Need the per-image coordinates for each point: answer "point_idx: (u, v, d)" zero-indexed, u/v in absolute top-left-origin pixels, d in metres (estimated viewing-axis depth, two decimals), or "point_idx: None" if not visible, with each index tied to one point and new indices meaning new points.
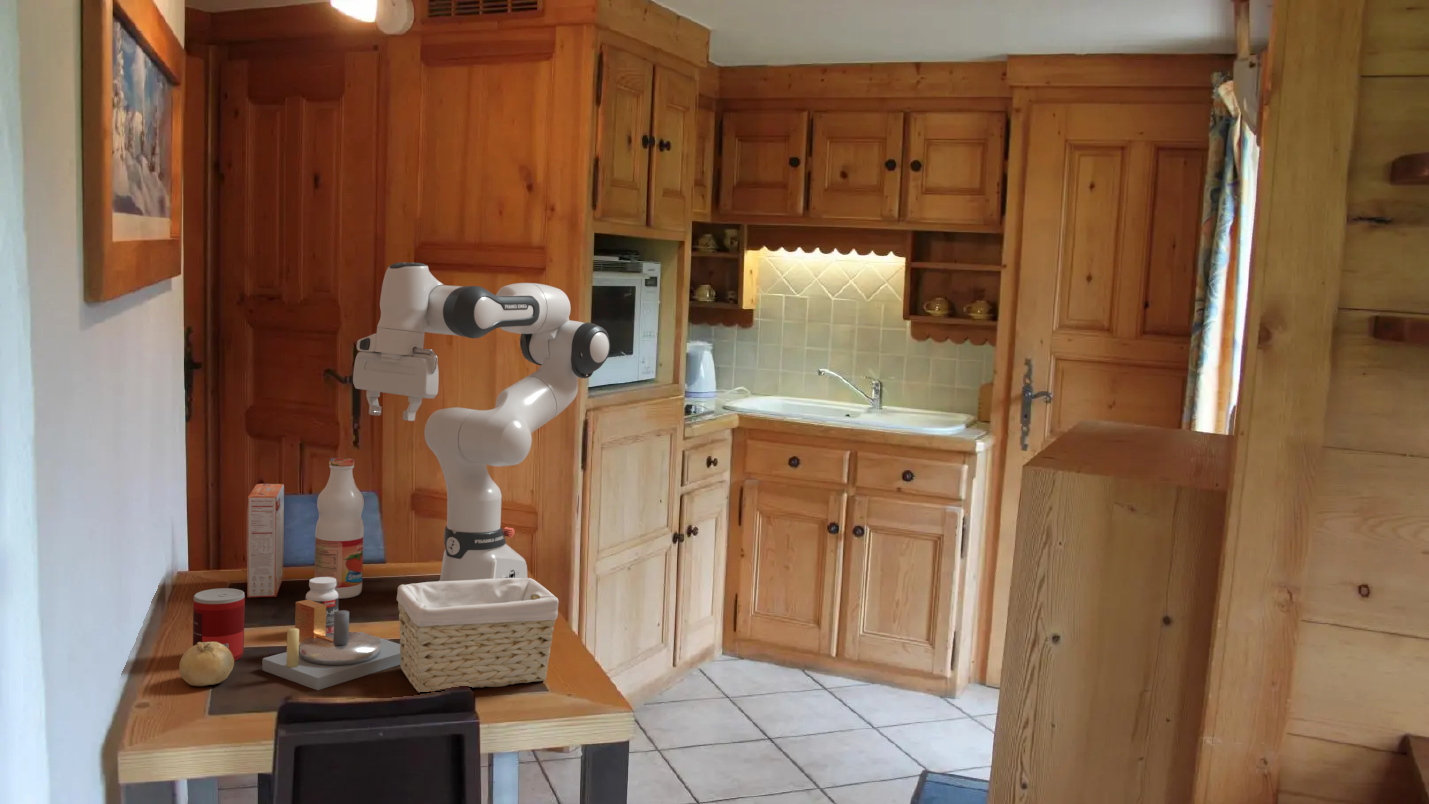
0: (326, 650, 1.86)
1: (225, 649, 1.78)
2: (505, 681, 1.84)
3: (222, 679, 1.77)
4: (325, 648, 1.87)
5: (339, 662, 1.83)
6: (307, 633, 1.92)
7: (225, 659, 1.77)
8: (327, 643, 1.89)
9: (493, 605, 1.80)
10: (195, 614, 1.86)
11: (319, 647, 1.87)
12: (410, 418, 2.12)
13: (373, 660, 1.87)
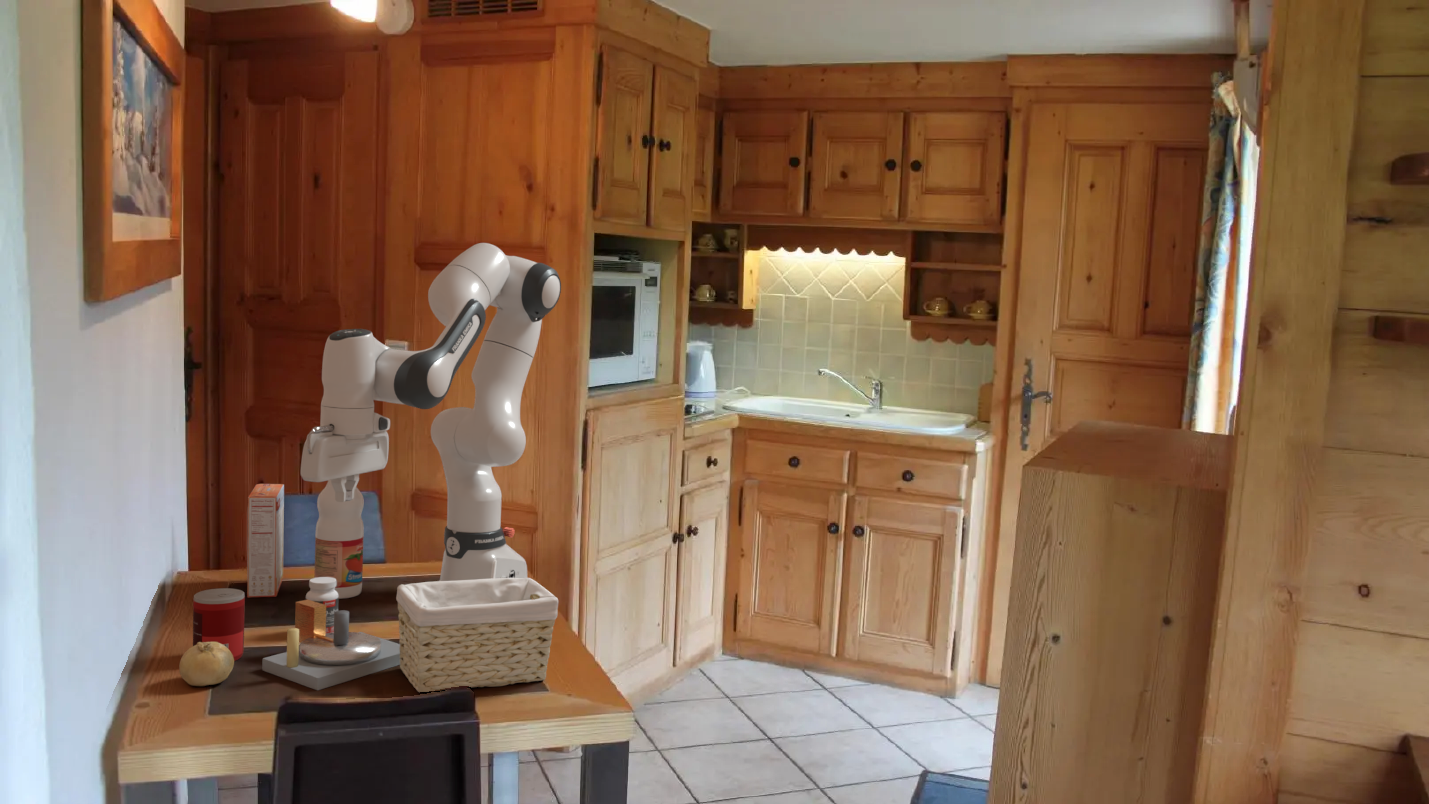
0: (326, 650, 1.86)
1: (225, 649, 1.78)
2: (505, 681, 1.84)
3: (222, 679, 1.77)
4: (325, 648, 1.87)
5: (339, 662, 1.83)
6: (307, 633, 1.92)
7: (225, 659, 1.77)
8: (327, 643, 1.89)
9: (493, 605, 1.81)
10: (195, 614, 1.86)
11: (319, 647, 1.87)
12: (338, 498, 1.96)
13: (373, 660, 1.87)
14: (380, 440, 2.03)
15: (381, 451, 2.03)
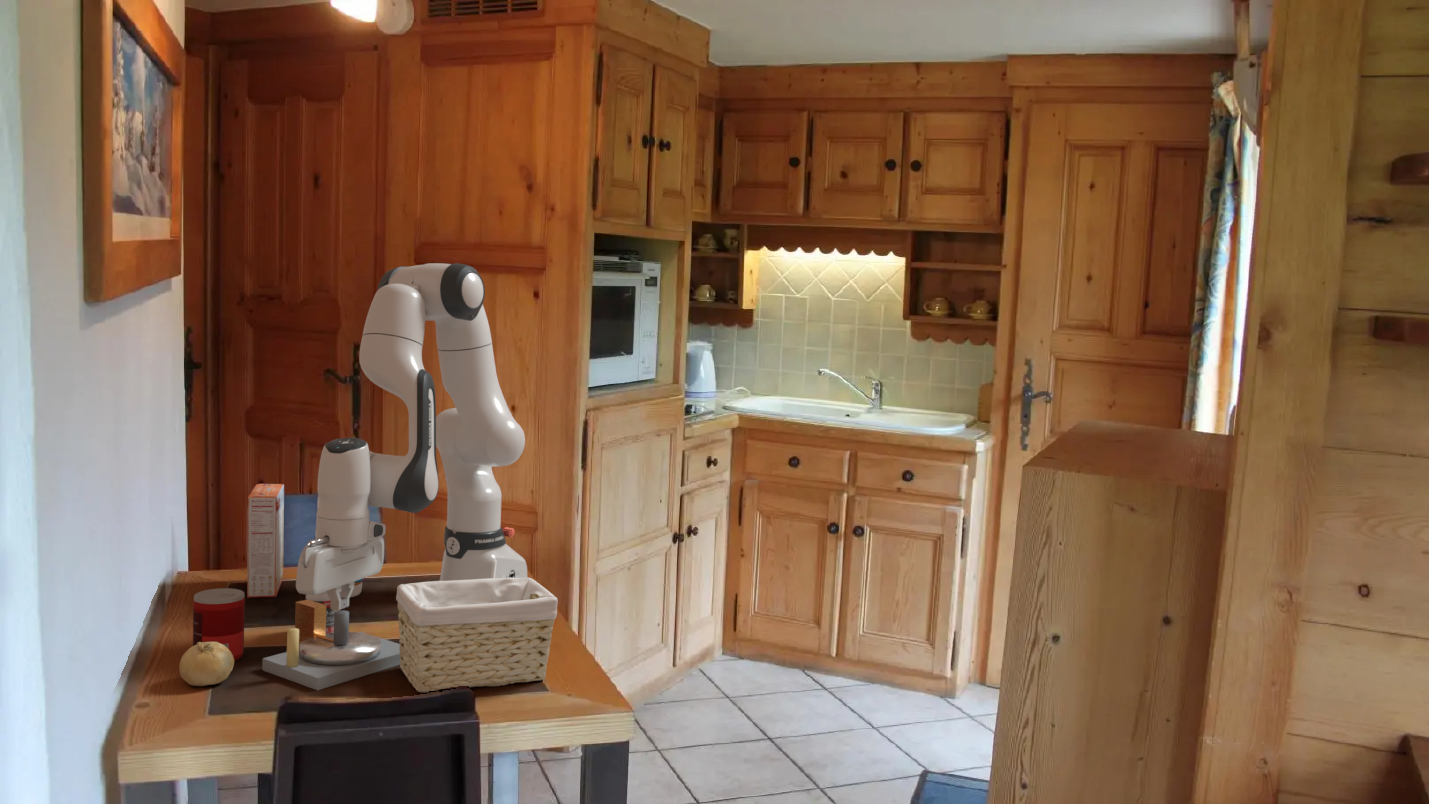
0: (326, 650, 1.86)
1: (225, 649, 1.78)
2: (504, 680, 1.84)
3: (222, 679, 1.77)
4: (325, 648, 1.87)
5: (339, 662, 1.83)
6: (307, 633, 1.92)
7: (225, 659, 1.77)
8: (327, 643, 1.89)
9: (492, 604, 1.81)
10: (195, 614, 1.86)
11: (319, 647, 1.87)
12: (333, 607, 1.97)
13: (373, 660, 1.87)
14: (375, 546, 2.04)
15: (376, 556, 2.05)
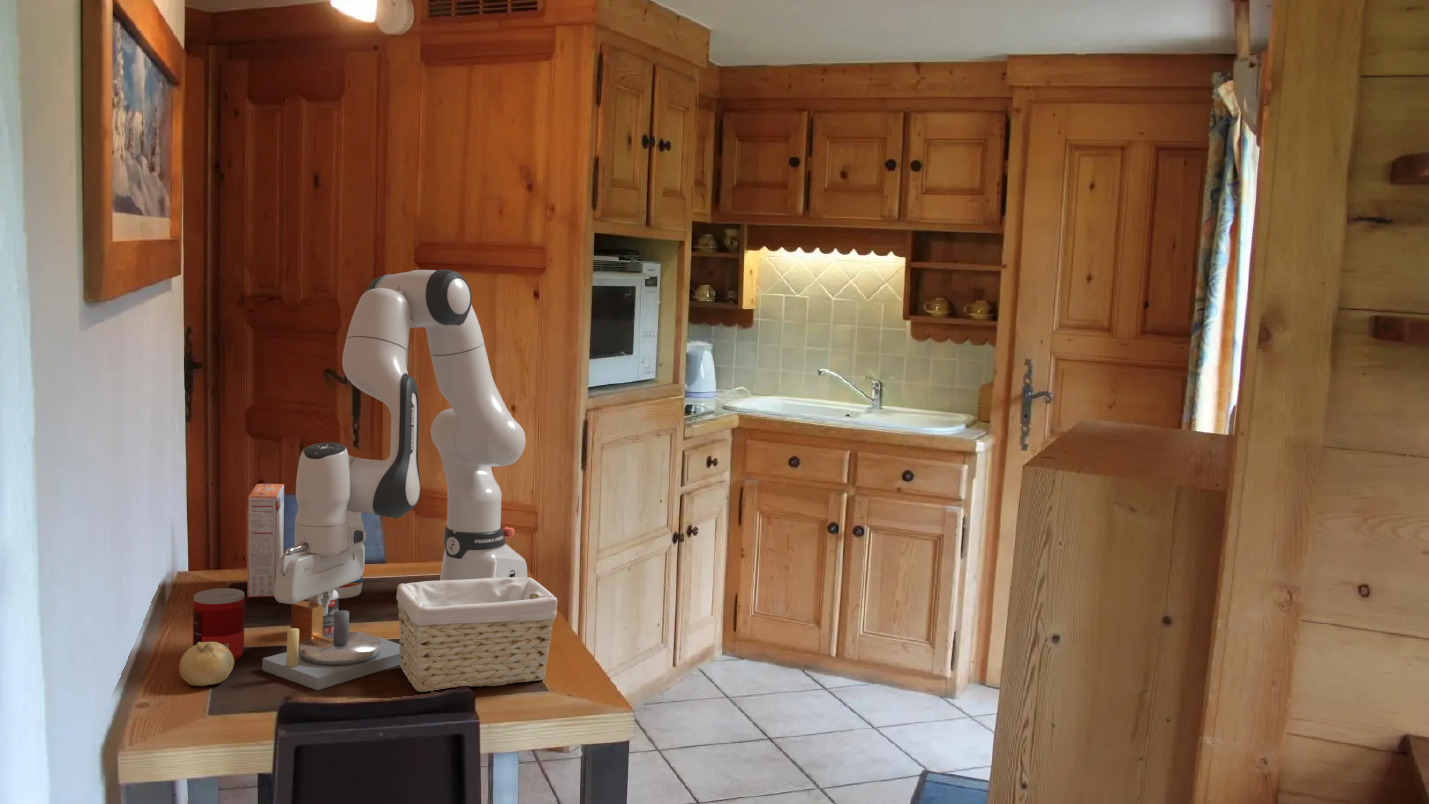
0: (327, 650, 1.86)
1: (225, 649, 1.78)
2: (504, 680, 1.84)
3: (222, 679, 1.77)
4: (327, 648, 1.87)
5: (343, 662, 1.84)
6: (305, 634, 1.92)
7: (225, 659, 1.77)
8: (327, 643, 1.89)
9: (492, 604, 1.81)
10: (195, 614, 1.86)
11: (320, 647, 1.87)
12: None
13: (373, 660, 1.87)
14: (356, 552, 2.01)
15: (357, 562, 2.02)
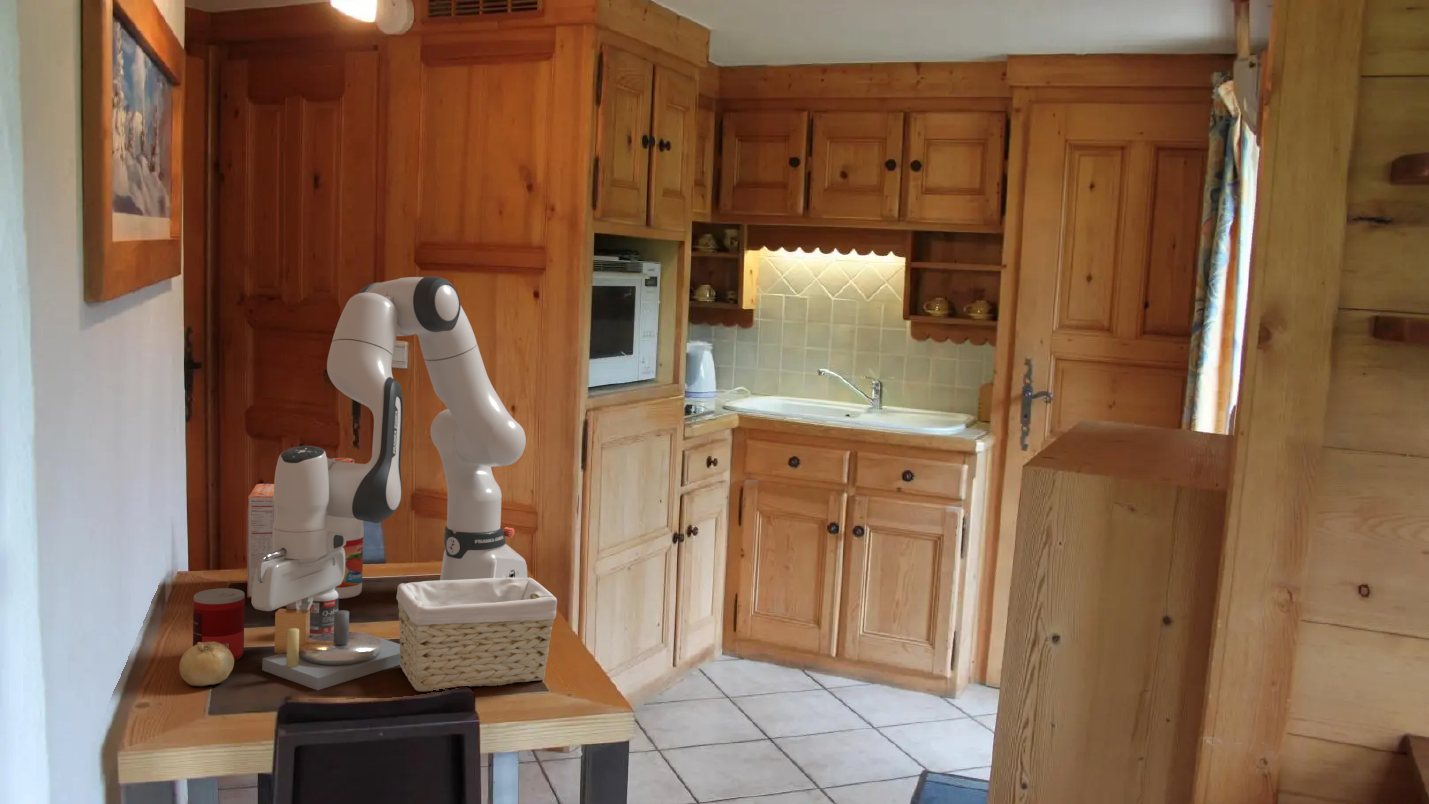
0: (341, 650, 1.86)
1: (225, 649, 1.78)
2: (503, 680, 1.84)
3: (222, 679, 1.77)
4: (336, 649, 1.86)
5: (364, 658, 1.86)
6: None
7: (225, 659, 1.77)
8: (328, 645, 1.88)
9: (491, 604, 1.81)
10: (195, 614, 1.86)
11: (330, 650, 1.86)
12: None
13: (373, 660, 1.87)
14: (336, 557, 1.97)
15: (337, 567, 1.98)
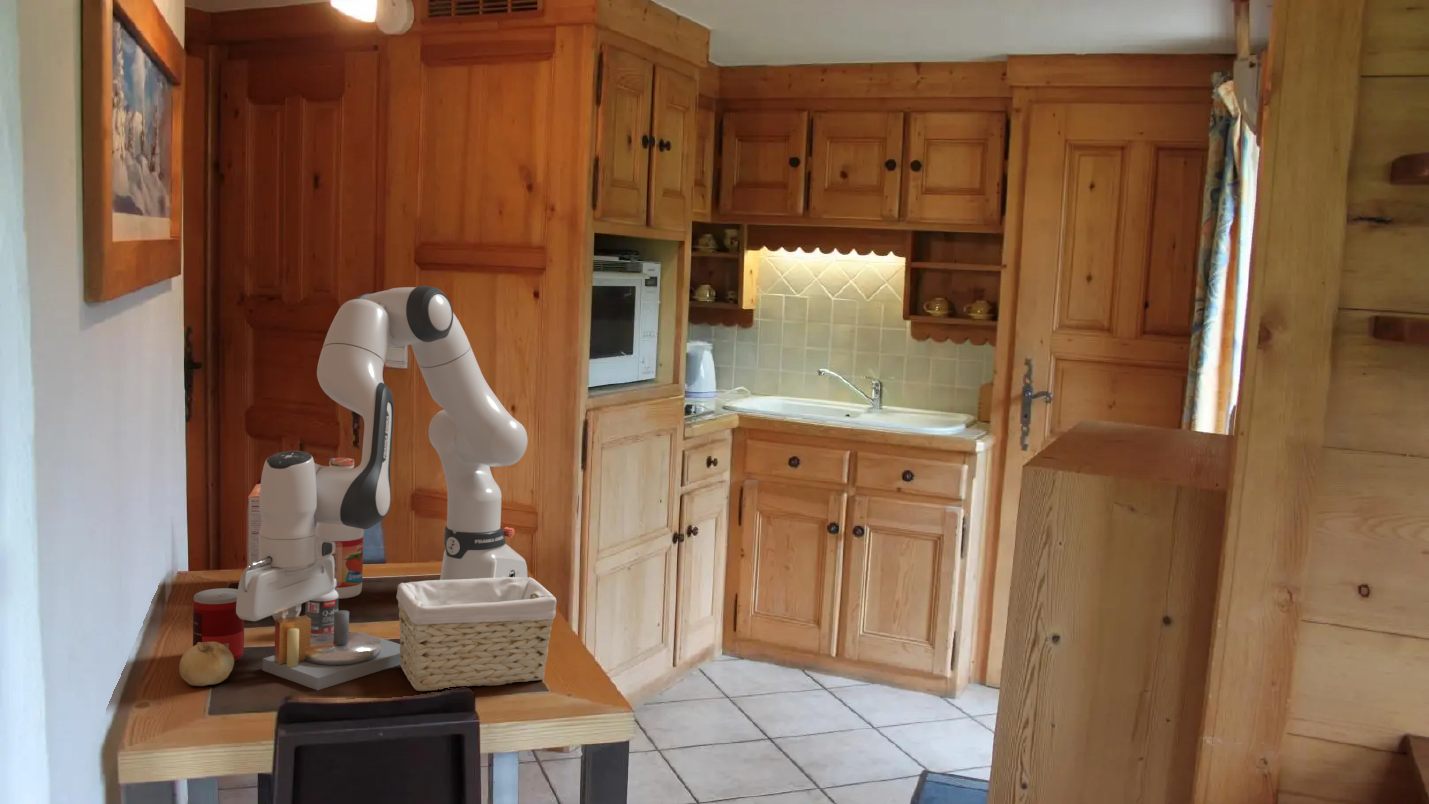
0: (354, 649, 1.87)
1: (225, 649, 1.78)
2: (502, 680, 1.84)
3: (222, 679, 1.77)
4: (348, 648, 1.87)
5: (378, 652, 1.89)
6: (300, 648, 1.84)
7: (225, 659, 1.77)
8: (333, 647, 1.87)
9: (490, 604, 1.81)
10: (195, 614, 1.86)
11: (343, 650, 1.86)
12: None
13: (373, 660, 1.87)
14: (325, 564, 1.92)
15: (326, 575, 1.93)
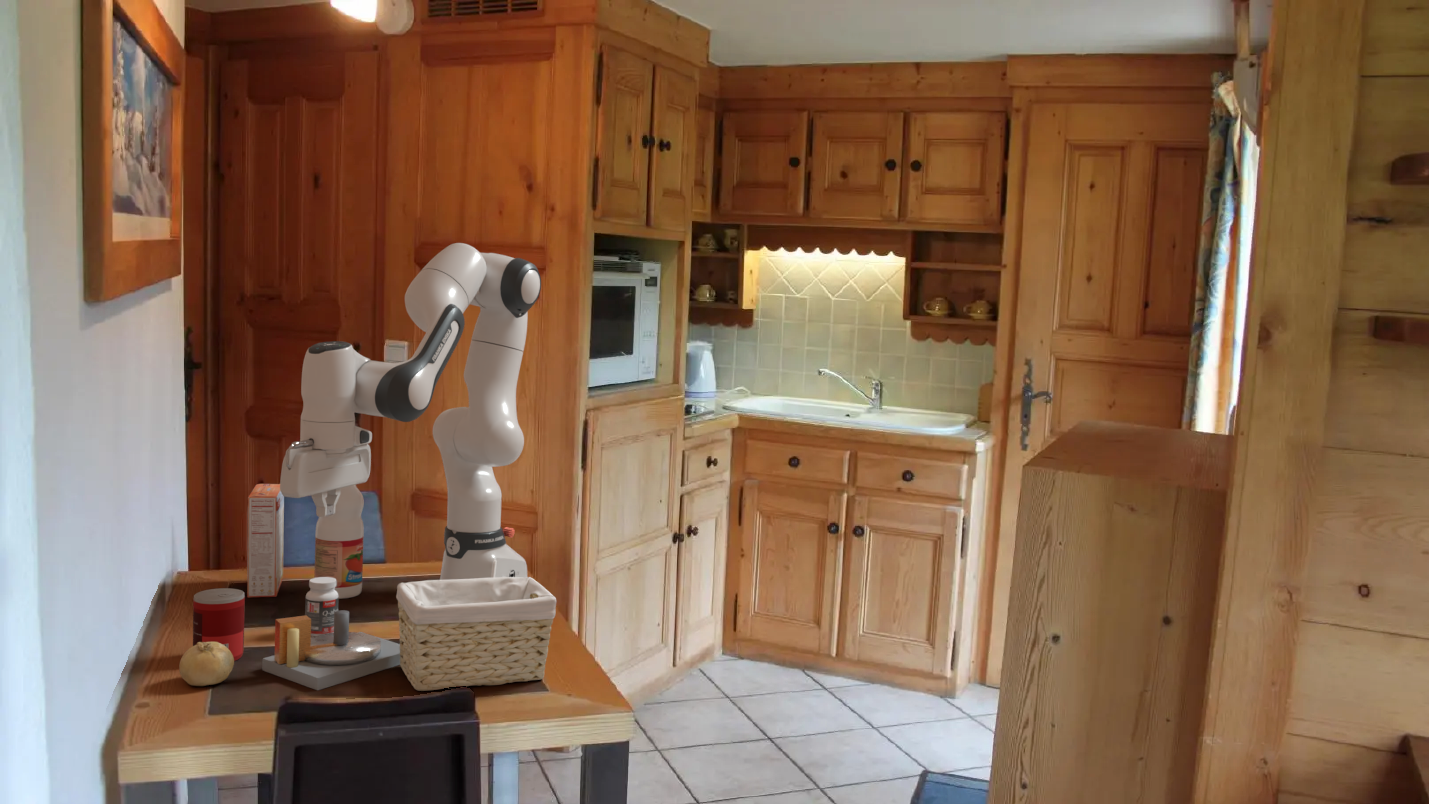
0: (354, 649, 1.87)
1: (225, 649, 1.78)
2: (502, 679, 1.84)
3: (222, 679, 1.77)
4: (348, 648, 1.87)
5: (378, 652, 1.89)
6: (301, 648, 1.84)
7: (225, 659, 1.77)
8: (333, 647, 1.87)
9: (490, 604, 1.81)
10: (195, 614, 1.86)
11: (343, 650, 1.86)
12: (319, 513, 1.93)
13: (373, 660, 1.87)
14: (362, 453, 2.00)
15: (363, 464, 2.01)
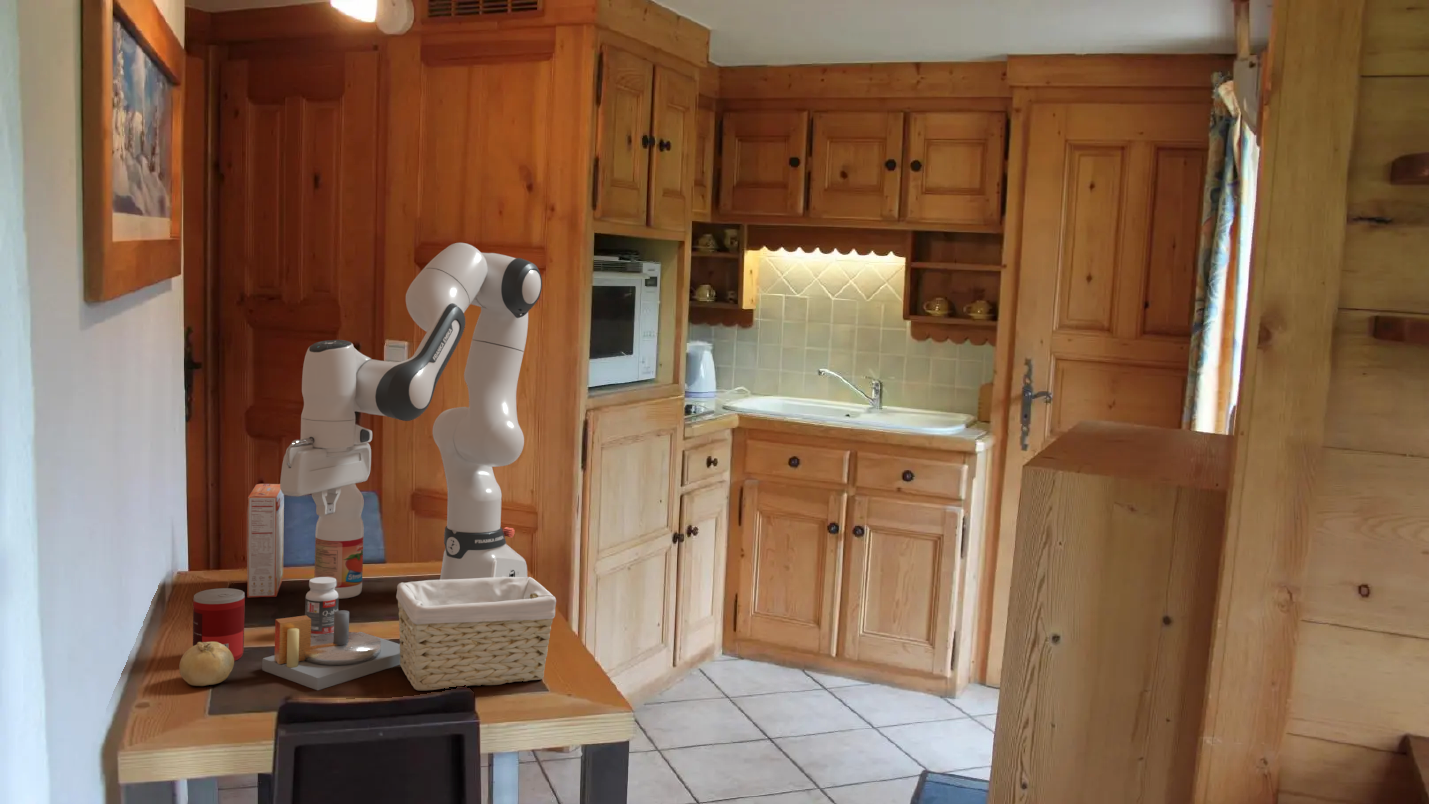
0: (354, 649, 1.87)
1: (225, 649, 1.78)
2: (502, 679, 1.84)
3: (222, 679, 1.77)
4: (348, 648, 1.87)
5: (378, 652, 1.89)
6: (301, 648, 1.84)
7: (225, 659, 1.77)
8: (333, 647, 1.87)
9: (490, 604, 1.81)
10: (195, 614, 1.86)
11: (343, 650, 1.86)
12: (319, 512, 1.93)
13: (373, 660, 1.87)
14: (362, 452, 2.00)
15: (363, 463, 2.01)
